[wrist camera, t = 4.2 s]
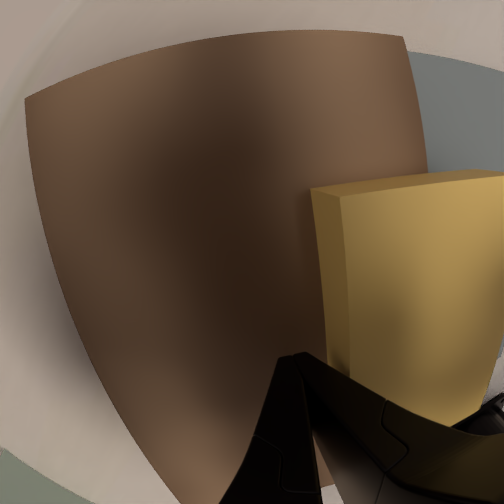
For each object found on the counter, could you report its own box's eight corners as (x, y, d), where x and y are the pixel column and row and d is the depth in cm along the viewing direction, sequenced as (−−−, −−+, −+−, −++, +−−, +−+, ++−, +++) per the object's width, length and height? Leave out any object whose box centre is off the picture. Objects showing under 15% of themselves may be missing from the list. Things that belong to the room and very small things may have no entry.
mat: (504, 74, 10) (509, 74, 9) (497, 353, 15) (500, 356, 14) (347, 49, 9) (351, 46, 9) (370, 412, 14) (373, 416, 14)
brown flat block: (362, 61, 9) (403, 36, 7) (376, 425, 14) (396, 462, 12) (68, 111, 9) (24, 98, 6) (185, 464, 14) (183, 506, 11)
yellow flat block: (475, 168, 8) (519, 174, 6) (454, 383, 10) (479, 409, 8) (310, 188, 8) (339, 197, 6) (330, 432, 10) (345, 470, 8)
